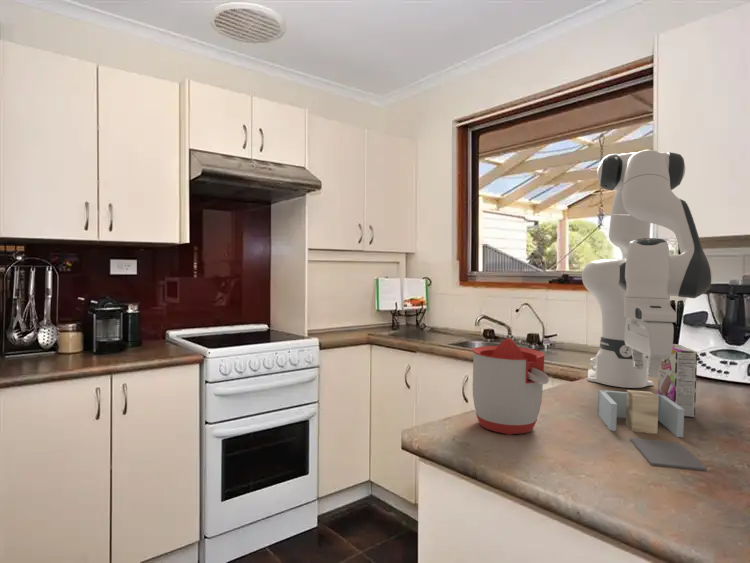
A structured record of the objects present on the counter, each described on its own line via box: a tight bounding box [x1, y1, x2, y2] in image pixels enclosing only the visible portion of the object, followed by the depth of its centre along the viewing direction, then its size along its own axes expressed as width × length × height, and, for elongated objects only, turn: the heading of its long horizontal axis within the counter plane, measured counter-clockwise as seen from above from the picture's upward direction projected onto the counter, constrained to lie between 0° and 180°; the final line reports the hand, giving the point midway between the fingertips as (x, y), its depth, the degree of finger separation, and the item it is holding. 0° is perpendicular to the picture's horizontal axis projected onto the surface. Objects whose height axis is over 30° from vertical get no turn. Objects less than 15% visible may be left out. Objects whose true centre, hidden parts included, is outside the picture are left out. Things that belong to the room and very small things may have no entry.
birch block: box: [625, 389, 659, 435], centre depth 106 cm, size 5×5×8 cm
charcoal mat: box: [629, 437, 707, 472], centre depth 92 cm, size 13×9×1 cm
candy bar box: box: [657, 343, 698, 418], centre depth 120 cm, size 11×5×16 cm, turn 168°
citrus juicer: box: [472, 337, 549, 436], centre depth 105 cm, size 16×17×20 cm
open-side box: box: [597, 389, 685, 438], centre depth 109 cm, size 12×14×6 cm
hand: (644, 372), depth 105 cm, fingers open, 8 cm apart
